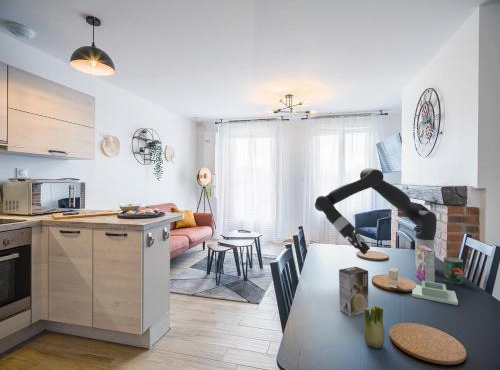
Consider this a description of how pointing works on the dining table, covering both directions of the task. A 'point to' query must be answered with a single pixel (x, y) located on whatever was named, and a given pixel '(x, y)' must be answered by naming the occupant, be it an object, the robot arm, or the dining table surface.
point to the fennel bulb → (374, 327)
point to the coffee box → (353, 290)
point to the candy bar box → (425, 263)
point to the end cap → (435, 292)
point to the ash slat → (393, 276)
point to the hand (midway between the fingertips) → (367, 251)
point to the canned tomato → (453, 270)
